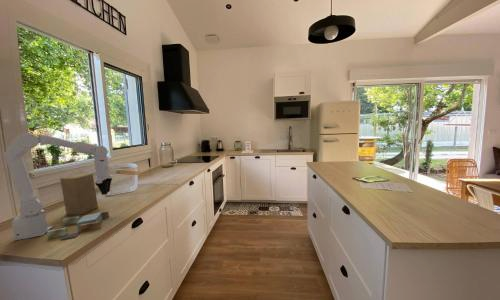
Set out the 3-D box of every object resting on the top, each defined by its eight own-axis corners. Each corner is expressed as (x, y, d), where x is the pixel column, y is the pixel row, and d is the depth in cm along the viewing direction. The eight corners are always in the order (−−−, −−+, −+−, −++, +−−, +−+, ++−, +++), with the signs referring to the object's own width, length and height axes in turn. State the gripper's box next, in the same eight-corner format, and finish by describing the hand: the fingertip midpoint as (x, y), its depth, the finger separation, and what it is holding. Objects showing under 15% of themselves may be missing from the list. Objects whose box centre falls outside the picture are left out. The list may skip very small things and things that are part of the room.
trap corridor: (41, 244, 78) (40, 237, 78) (69, 220, 99) (68, 215, 98) (96, 233, 85) (95, 226, 84) (111, 213, 105) (110, 207, 105)
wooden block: (80, 214, 105) (74, 178, 103) (65, 214, 107) (59, 178, 105) (98, 207, 115) (93, 173, 113) (84, 206, 117) (79, 173, 115)
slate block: (78, 231, 88) (76, 222, 87) (85, 223, 95) (83, 215, 95) (97, 227, 91) (95, 219, 90) (102, 220, 98) (101, 212, 97)
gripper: (106, 169, 99) (110, 196, 101) (114, 165, 112) (118, 188, 114) (89, 171, 96) (94, 198, 98) (100, 166, 110) (103, 190, 112)
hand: (106, 193), depth 106 cm, fingers open, 3 cm apart
